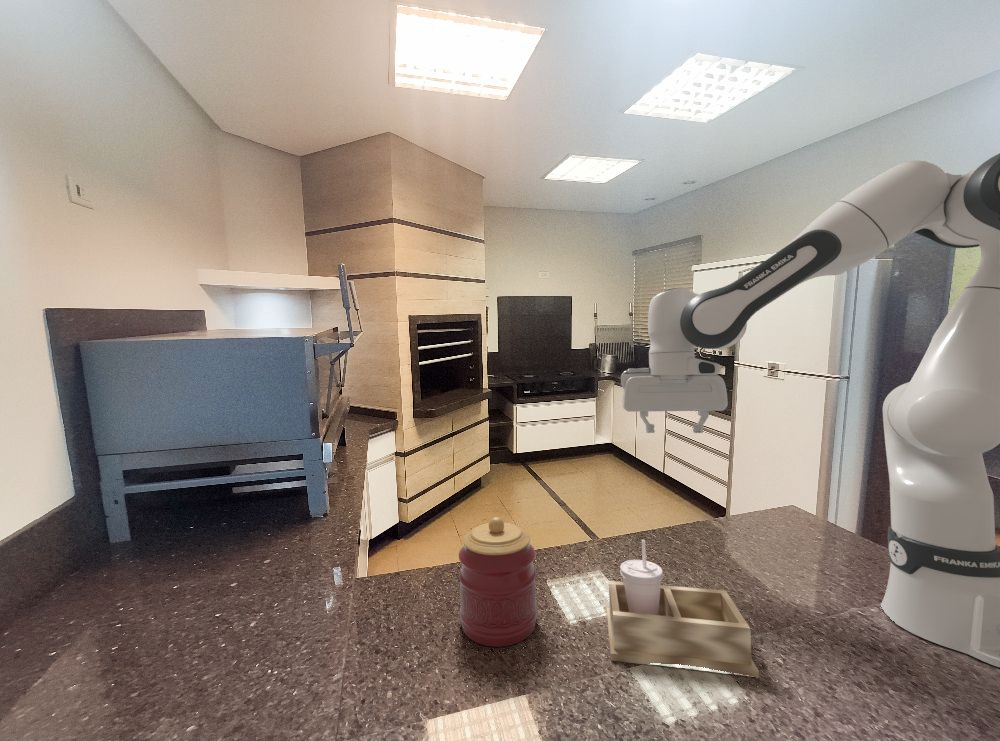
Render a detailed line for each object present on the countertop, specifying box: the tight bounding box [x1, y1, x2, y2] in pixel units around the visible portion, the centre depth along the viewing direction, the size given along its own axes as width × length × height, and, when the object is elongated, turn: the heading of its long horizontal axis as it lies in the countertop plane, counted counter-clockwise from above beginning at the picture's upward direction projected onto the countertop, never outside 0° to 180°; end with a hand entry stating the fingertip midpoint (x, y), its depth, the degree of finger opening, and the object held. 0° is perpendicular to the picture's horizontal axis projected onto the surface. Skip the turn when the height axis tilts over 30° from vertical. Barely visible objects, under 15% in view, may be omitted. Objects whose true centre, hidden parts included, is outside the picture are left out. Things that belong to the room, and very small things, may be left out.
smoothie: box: [619, 539, 664, 615], centre depth 62 cm, size 6×6×14 cm
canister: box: [458, 516, 538, 648], centre depth 66 cm, size 13×13×18 cm
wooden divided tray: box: [605, 580, 760, 678], centre depth 60 cm, size 19×12×6 cm, turn 78°
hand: (673, 432), depth 82 cm, fingers open, 8 cm apart
